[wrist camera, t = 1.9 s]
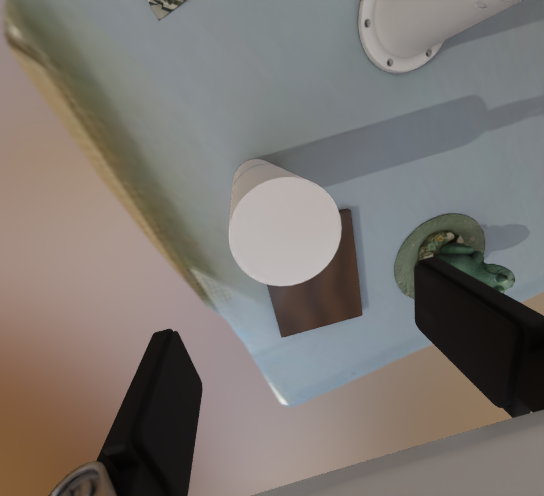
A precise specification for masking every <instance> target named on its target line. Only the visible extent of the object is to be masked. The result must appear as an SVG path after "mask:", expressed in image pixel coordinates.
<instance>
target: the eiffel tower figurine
mask: <svg viewBox="0 0 544 496" xmlns="http://www.w3.org/2000/svg"><path fill="white" fill-rule="evenodd" d="M184 1H185V0H148V2H149V4H150V5H151V7H152V9H153V11H154V12H155V14H156V16H157V18H158V19H159V20H161V19H162V18H163V17H164V16H166V15H167V14H168V13H170V12H171V11H172V10H173V9H175V8H176V7H177V6H179V5H180V4H181V3H183V2H184Z"/></svg>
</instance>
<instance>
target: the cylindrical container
mask: <svg viewBox="0 0 544 496" xmlns="http://www.w3.org/2000/svg"><path fill="white" fill-rule="evenodd" d="M341 230H342V226H341V217H340V214H339V211H338V208H337V206H336V204H335V202H334V201H333V199H332V197H331V196H330V195H329V194H328V193H327V192H326V191H325V190H324V189H322V188H321V187H320V186H318V185H317V184H315V183H313V182H311V181H309V180H306V179H304V178H302V177H300V176H298V175H295V174H293V173H291V172H289V171H287V170H284V169H282V168H280V167H278V166H276V165H273V164H271V163H269V162H267V161H264V160H261V159H252V160H248V161H246V162H244V163H243V164H241V165H240V166H239V168H238V169H237V170H236V172H235V175H234V178H233V187H232V198H231V210H230V221H229V245H230V248H231V252H232V255H233V257H234V259H235V260H236V262H237V264H238V265H239V266H240V268H241V269H242V270H243V271H244V272H245V273H246V274H248V275H249V276H250V277H251V278H253V279H255V280H257V281H259V282H261V283H265V284H268V285H273V286H291V285H295V284H299V283H302V282H305V281H307V280H309V279H311V278H313V277H314V276H316V275H317V274H319V273H320V272H321V271H322V270H323V269H324V268H325V267H326V266H327V265H328V264H329V262H330V261H331V260H332V259H333V257H334V255H335V253H336V251H337V249H338V246H339V243H340V239H341Z"/></svg>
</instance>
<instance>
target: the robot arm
mask: <svg viewBox="0 0 544 496" xmlns="http://www.w3.org/2000/svg"><path fill="white" fill-rule="evenodd" d="M521 1H523V0H361V4H360V8H359V18H358V23H359V34H360V39H361V43H362V46H363V48H364V51H365V52H366V54H367V56H368V57H369V59H370V60H371V61H372V62H373V63H374V64H375V65H376V66H377V67H379V68H380V69H381V70H383V71H386V72H389V73H396V74H400V73H406V72H409V71H412V70H414V69H416V68H419V67H421V66H422V65H424V64H425V63H426V62H428V61H429V60H430V59H431V58H432V57H433V56H434V55H435V54H436V53H437V51H438V50H439V49H440V47H441V46H442V44H443V43H444V41H445V40H447V39H449V38H451V37H453V36H455V35H457V34H458V33H460V32H462V31H464V30H466V29H468V28H470V27H472V26H474V25H476V24H478V23H480V22H482V21H484V20H486V19H488V18H490V17H492V16H494V15H496V14H498V13H500V12H501V11H503V10H505V9H507V8H509V7H511V6H513V5H515V4H517V3H519V2H521ZM364 24H365V25H366V27H365V25H364ZM387 63H388V65H387ZM414 297H415V323H416V325H417V327H418V329H419V330H420V331H421V332H422V333H423V334H424V335H425V336H426V337H427V338H428V339H429V340H430V341H431V342H432V343H433V344H434V345H435V346H436V347H437V348H438V349H439V350H440V351H441V352H442V353H443V354H444V355H445V356H446V357H447V358H448V359H449V360H450V361H451V362H452V363H453V364H454V365H455V366H456V367H457V368H458V369H459V370H460V371H461V372H462V373H463V374H464V375H465V376H466V377H467V378H468V379H469V380H470V381H471V382H472V383H473V384H474V385H475V386H476V387H477V388H478V389H479V390H480V391H481V392H482V393H483V394H484V395H485V396H486V397H487V398H488V399H489V400H490V401H491V402H492V403H493V404H494V405H495V406H497V407H499V408H503V409H504V410H505V411H506V412H507V413H508V414H509V415H510V416H511V417H512V418H511V419H508V420H505V421H501V422H498V423H495V424H491V425H487V426H484V427H480V428H477V429H474V430H470V431H467V432H463V433H460V434H456V435H453V436H449V437H446V438H442V439H439V440H436V441H432V442H429V443H426V444H422V445H419V446H415V447H412V448H408V449H405V450H402V451H398V452H395V453H392V454H388V455H385V456H382V457H378V458H375V459H371V460H368V461H365V462H361V463H358V464H355V465H351V466H348V467H345V468H341V469H338V470H334V471H331V472H328V473H324V474H321V475H318V476H314V477H311V478H308V479H304V480H301V481H298V482H295V483H291V484H288V485H285V486H281V487H278V488H275V489H272V490H268V491H265V492H262V493H258V494H255V495H252V496H544V316H543V315H541V314H540V313H538V312H536V311H534V310H532V309H530V308H528V307H527V306H525V305H523V304H521V303H520V302H518V301H516V300H514V299H512V298H511V297H509V296H507V295H505V294H503V293H501V292H500V291H498V290H496V289H494V288H492V287H491V286H489V285H487V284H485V283H483V282H482V281H480V280H478V279H476V278H474V277H472V276H471V275H469V274H467V273H465V272H463V271H462V270H460V269H458V268H456V267H454V266H453V265H451V264H449V263H447V262H445V261H443V260H442V259H440V258H438V257H435V256H433V257H429V258H426V259H422V260H419V261H418V263H417V265H415V267H414ZM201 397H202V382H201V379H200V377H199V375H198V373H197V371H196V369H195V367H194V365H193V363H192V361H191V358H190V356H189V354H188V352H187V350H186V348H185V346H184V344H183V342H182V340H181V338H180V335H179V333H178V332H177V331H174V332H173V330H172V329H166V330H163V331H159V332H155V333H154V334H153V336H152V338H151V340H150V342H149V345H148V347H147V349H146V351H145V353H144V356H143V358H142V360H141V363H140V365H139V367H138V369H137V372H136V374H135V376H134V378H133V380H132V382H131V385H130V387H129V389H128V391H127V393H126V396H125V398H124V400H123V402H122V405H121V407H120V409H119V412H118V414H117V416H116V418H115V420H114V423H113V425H112V427H111V429H110V432H109V434H108V436H107V438H106V440H105V443H104V445H103V447H102V449H101V452H100V454H99V456H98V458H97V461H92V462H87V463H85V464H83V465H81V466H79V467H77V468H76V469H74V470H73V471H72V472H70V473H69V474H67V475H66V476H65V477H64V478H63V479H62V480H61V481H60V482H59V483H58V484H57V485H56V487H55V488H54V489H53V490H52V491H51V493H50V494H49V495H48V496H187V495H188V489H189V482H190V475H191V468H192V461H193V453H194V447H195V439H196V432H197V425H198V418H199V411H200V404H201ZM531 411H532V412H533V413H530V412H531ZM529 413H530V414H529Z"/></svg>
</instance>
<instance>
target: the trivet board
mask: <svg viewBox="0 0 544 496" xmlns="http://www.w3.org/2000/svg"><path fill="white" fill-rule="evenodd" d="M339 214H340V217H341V226H342V230H341V239H340V243H339V246H338V249H337V251H336V253H335V255H334V257H333V259H332V260H331V261H330V262H329V264H328V265H327V266H326V267H325V268H324V269H323V270H322V271H321V272H320V273H319V274H317V275H316V276H314V277H313V278H311V279H309V280H307V281H305V282H302V283H299V284H295V285H291V286H273V285H268V284H267V286H268V290H269V293H270V297H271V300H272V304H273V308H274V311H275V315H276V319H277V322H278V326H279V330H280V333H281V337H282V338H283V337H286V336H290V335H294V334H297V333H301V332H304V331H308V330H312V329H315V328H319V327H322V326H326V325H330V324H333V323H337V322H340V321H344V320H348V319H351V318H355V317H358V316H362V306H361V297H360V288H359V279H358V271H357V262H356V253H355V244H354V235H353V226H352V218H351V211H350V210H348V209H344V210H340V211H339Z"/></svg>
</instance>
